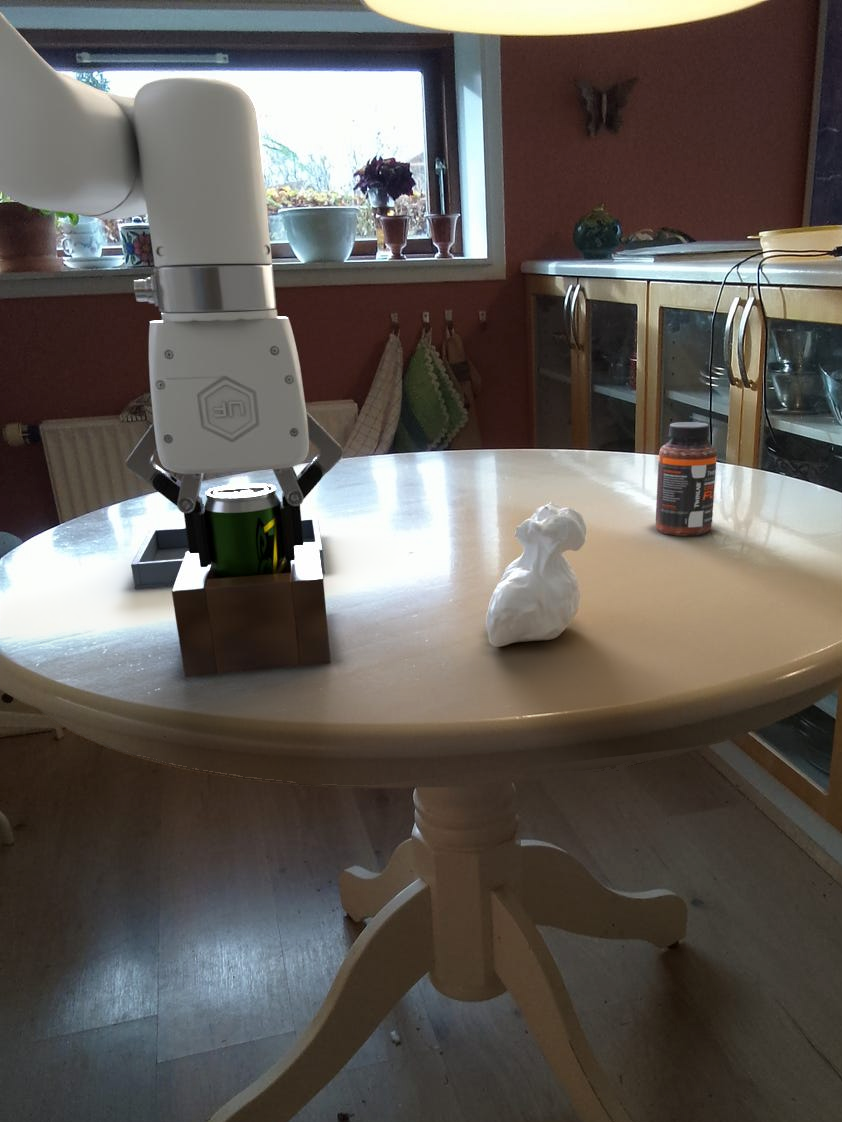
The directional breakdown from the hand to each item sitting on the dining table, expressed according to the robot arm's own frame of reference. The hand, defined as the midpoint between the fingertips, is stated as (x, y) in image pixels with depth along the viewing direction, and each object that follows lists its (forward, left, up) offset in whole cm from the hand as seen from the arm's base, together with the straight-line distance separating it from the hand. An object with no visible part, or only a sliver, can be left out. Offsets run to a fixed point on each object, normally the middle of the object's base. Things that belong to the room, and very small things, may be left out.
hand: (248, 556), depth 68 cm
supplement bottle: (+44, +23, -7) cm, 50 cm away
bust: (+21, -3, -7) cm, 23 cm away
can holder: (0, 0, -7) cm, 7 cm away
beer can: (0, 0, -7) cm, 7 cm away
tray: (-3, +24, -7) cm, 25 cm away
